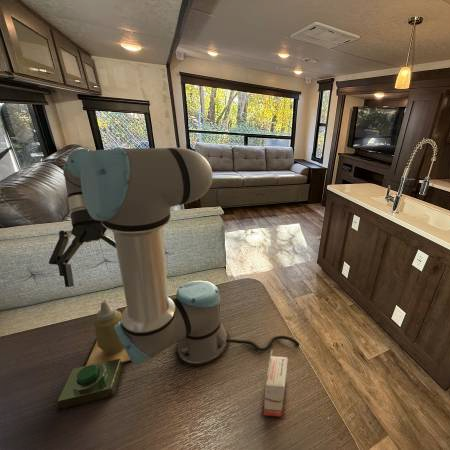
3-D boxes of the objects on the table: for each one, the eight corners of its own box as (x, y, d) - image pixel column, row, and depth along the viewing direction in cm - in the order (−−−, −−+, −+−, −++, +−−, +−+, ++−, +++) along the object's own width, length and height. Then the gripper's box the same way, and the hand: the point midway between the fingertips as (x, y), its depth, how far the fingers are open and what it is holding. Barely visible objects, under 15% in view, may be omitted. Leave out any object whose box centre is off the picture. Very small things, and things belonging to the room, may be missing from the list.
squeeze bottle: (116, 360, 74) (102, 314, 67) (93, 354, 75) (77, 308, 68) (137, 339, 81) (127, 295, 74) (116, 333, 82) (104, 290, 75)
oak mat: (140, 330, 85) (140, 329, 85) (133, 360, 75) (132, 359, 75) (98, 338, 81) (98, 337, 80) (84, 371, 70) (83, 370, 70)
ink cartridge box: (282, 417, 64) (286, 379, 58) (263, 415, 64) (265, 377, 58) (285, 385, 72) (288, 349, 66) (268, 383, 72) (270, 347, 66)
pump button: (100, 368, 67) (98, 363, 66) (95, 382, 64) (93, 377, 63) (82, 372, 66) (80, 367, 65) (76, 387, 62) (73, 381, 61)
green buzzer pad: (122, 365, 73) (119, 353, 71) (113, 395, 65) (109, 382, 63) (76, 375, 69) (71, 363, 67) (60, 408, 61) (54, 396, 59)
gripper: (137, 207, 83) (148, 269, 81) (43, 222, 75) (53, 291, 72) (129, 201, 76) (141, 269, 73) (24, 216, 68) (35, 293, 65)
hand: (97, 280), depth 73 cm, fingers open, 13 cm apart
